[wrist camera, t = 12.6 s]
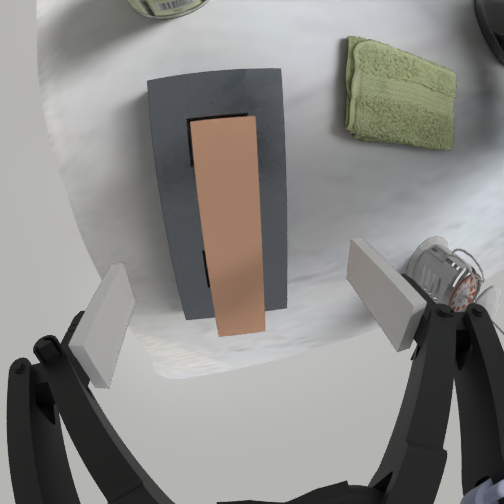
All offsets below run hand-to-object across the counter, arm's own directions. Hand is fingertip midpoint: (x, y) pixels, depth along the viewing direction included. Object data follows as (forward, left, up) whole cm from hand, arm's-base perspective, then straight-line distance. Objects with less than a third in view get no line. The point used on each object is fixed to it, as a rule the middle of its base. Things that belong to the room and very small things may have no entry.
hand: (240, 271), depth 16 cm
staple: (0, 0, -16) cm, 16 cm away
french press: (+12, +31, -17) cm, 37 cm away
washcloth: (-12, +22, -17) cm, 30 cm away
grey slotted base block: (0, 0, -16) cm, 16 cm away
